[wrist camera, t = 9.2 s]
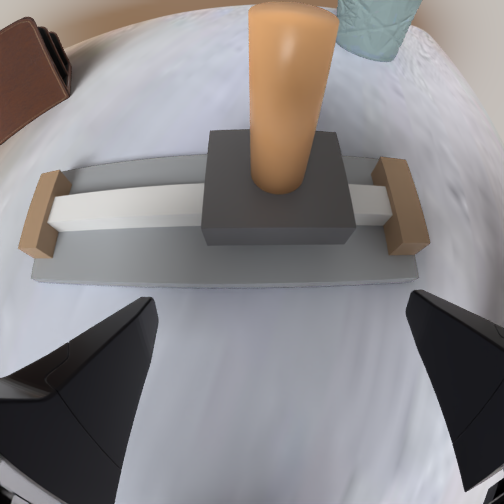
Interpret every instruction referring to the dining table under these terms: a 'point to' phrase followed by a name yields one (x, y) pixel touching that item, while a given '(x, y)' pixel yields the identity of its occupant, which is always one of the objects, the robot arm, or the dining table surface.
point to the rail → (192, 239)
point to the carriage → (280, 141)
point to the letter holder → (30, 74)
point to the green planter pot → (374, 26)
